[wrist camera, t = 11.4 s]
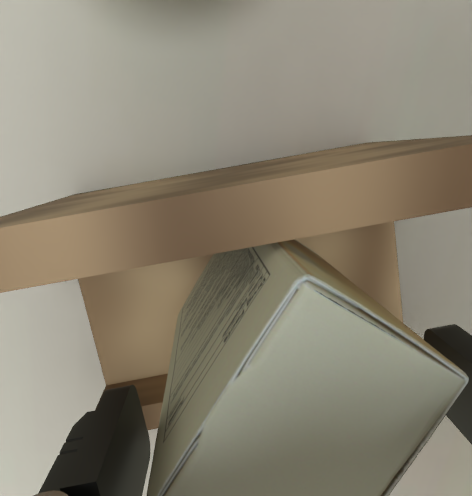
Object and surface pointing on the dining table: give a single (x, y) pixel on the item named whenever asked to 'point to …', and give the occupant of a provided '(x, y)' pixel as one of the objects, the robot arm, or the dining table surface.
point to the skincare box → (293, 384)
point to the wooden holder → (225, 238)
